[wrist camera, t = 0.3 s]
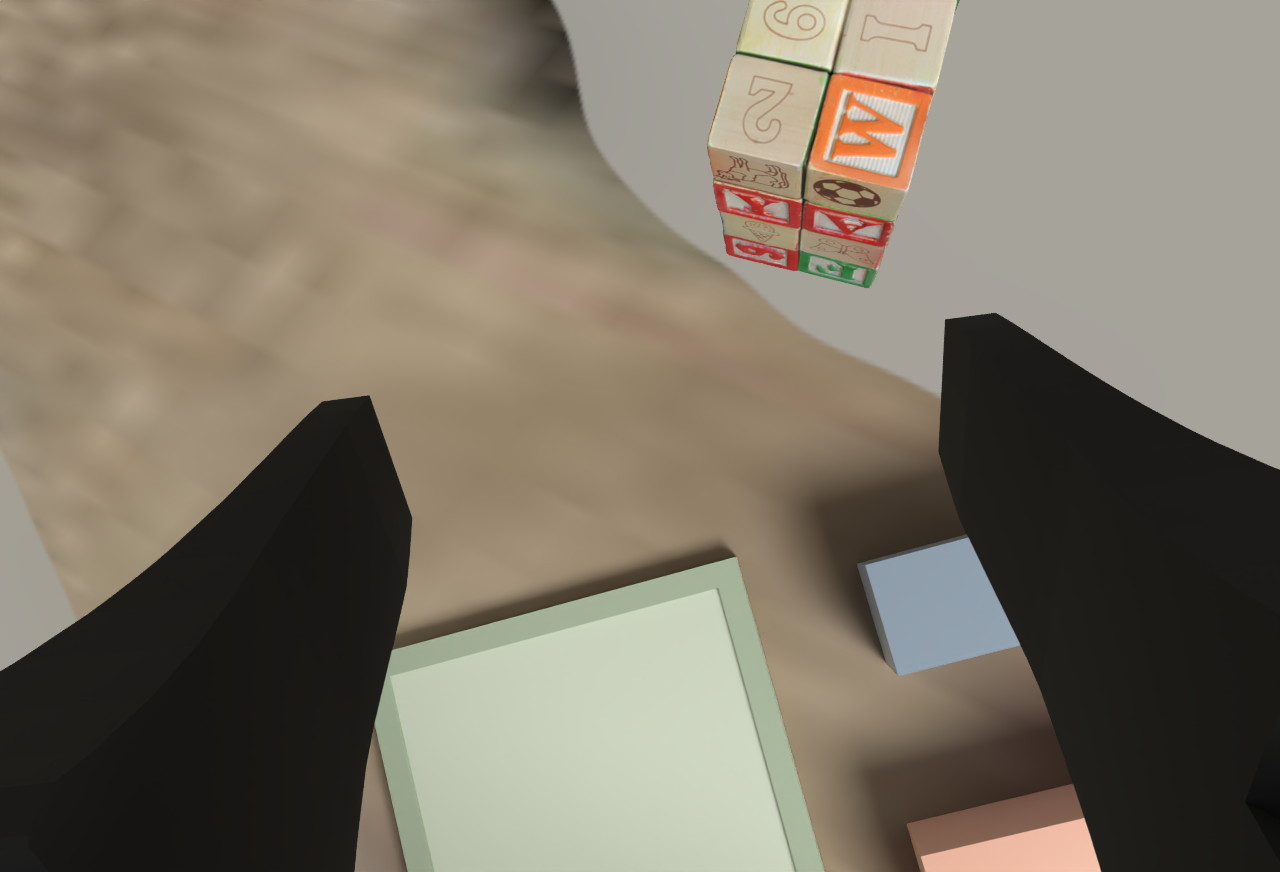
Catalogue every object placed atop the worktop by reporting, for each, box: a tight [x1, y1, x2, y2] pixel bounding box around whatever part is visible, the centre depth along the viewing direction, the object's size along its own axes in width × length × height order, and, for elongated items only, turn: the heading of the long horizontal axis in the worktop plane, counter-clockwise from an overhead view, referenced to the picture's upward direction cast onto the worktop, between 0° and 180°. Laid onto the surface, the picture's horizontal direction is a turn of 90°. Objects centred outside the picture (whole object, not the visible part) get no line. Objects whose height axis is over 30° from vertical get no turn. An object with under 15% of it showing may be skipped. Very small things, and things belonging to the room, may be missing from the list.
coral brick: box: [907, 784, 1101, 872], centre depth 37 cm, size 4×9×4 cm, turn 105°
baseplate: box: [375, 557, 825, 872], centre depth 41 cm, size 15×16×1 cm
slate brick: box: [857, 534, 1020, 676], centre depth 38 cm, size 4×9×4 cm, turn 105°
